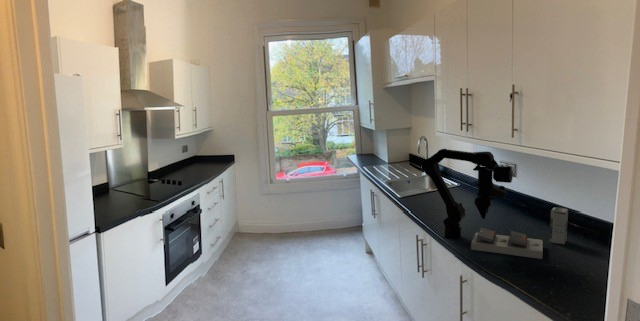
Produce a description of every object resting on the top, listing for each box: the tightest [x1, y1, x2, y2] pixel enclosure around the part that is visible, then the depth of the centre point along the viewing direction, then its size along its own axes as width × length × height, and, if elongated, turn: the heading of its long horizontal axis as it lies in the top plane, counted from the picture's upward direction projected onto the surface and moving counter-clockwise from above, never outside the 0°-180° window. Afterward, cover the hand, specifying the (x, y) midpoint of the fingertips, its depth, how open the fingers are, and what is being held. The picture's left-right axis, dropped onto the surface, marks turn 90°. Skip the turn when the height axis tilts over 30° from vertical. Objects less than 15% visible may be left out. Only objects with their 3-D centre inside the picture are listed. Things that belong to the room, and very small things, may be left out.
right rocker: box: [509, 230, 527, 246], centre depth 155 cm, size 6×11×1 cm, turn 150°
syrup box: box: [548, 206, 569, 245], centre depth 161 cm, size 6×6×14 cm
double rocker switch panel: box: [463, 232, 544, 260], centre depth 159 cm, size 30×14×3 cm, turn 60°
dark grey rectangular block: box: [477, 227, 496, 242], centre depth 161 cm, size 6×11×1 cm, turn 150°
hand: (484, 215), depth 164 cm, fingers open, 9 cm apart
